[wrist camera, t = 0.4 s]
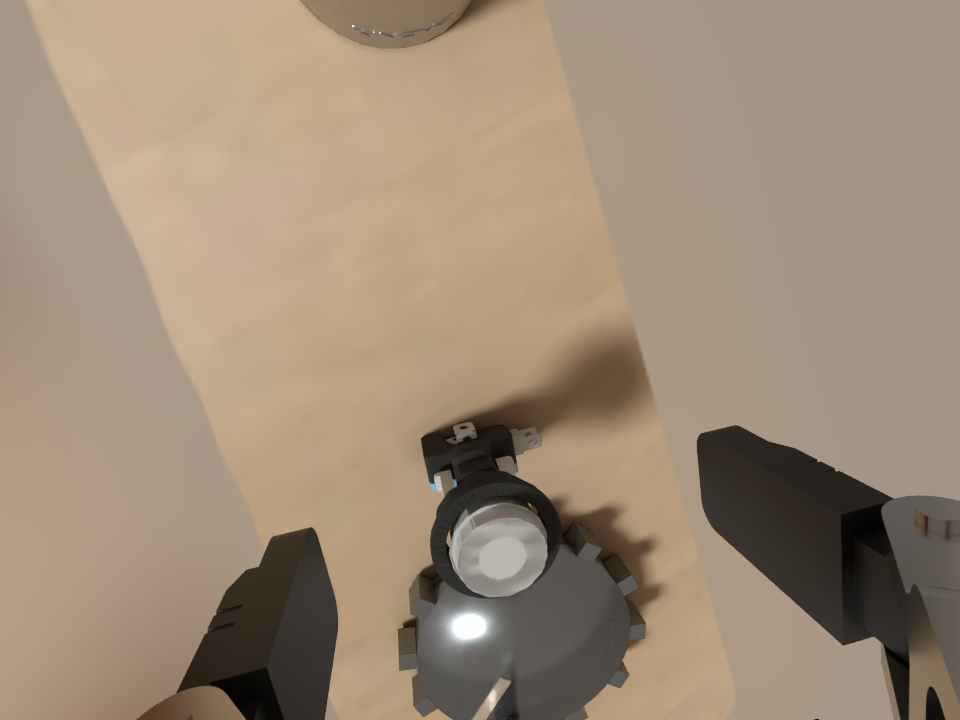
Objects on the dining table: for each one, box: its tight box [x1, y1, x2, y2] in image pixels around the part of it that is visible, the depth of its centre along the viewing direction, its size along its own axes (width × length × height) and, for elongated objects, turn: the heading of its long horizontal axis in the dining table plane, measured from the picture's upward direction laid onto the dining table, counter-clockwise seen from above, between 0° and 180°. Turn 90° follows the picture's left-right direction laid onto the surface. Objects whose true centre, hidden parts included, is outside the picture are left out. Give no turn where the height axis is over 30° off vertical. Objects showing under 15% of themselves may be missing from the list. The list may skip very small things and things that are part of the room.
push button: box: [421, 422, 562, 599], centre depth 25 cm, size 7×5×10 cm
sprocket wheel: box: [398, 523, 646, 720], centre depth 30 cm, size 15×15×6 cm
